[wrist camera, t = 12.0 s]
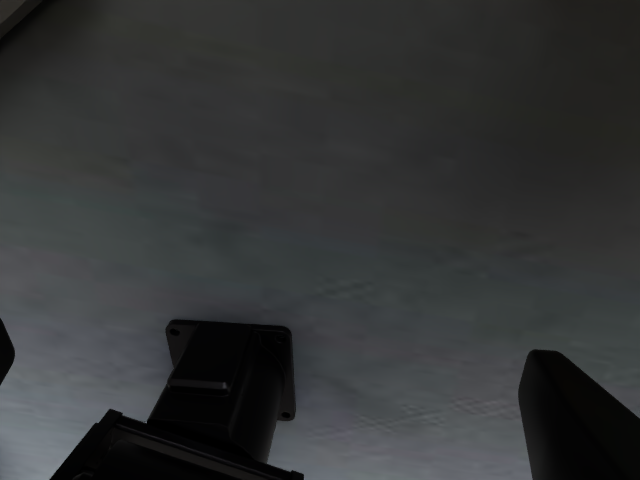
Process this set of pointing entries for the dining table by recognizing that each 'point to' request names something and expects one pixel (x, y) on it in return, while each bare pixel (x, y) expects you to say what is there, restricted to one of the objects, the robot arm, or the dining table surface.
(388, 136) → the dining table surface
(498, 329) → the dining table surface
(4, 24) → the fast food meal
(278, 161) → the dining table surface
